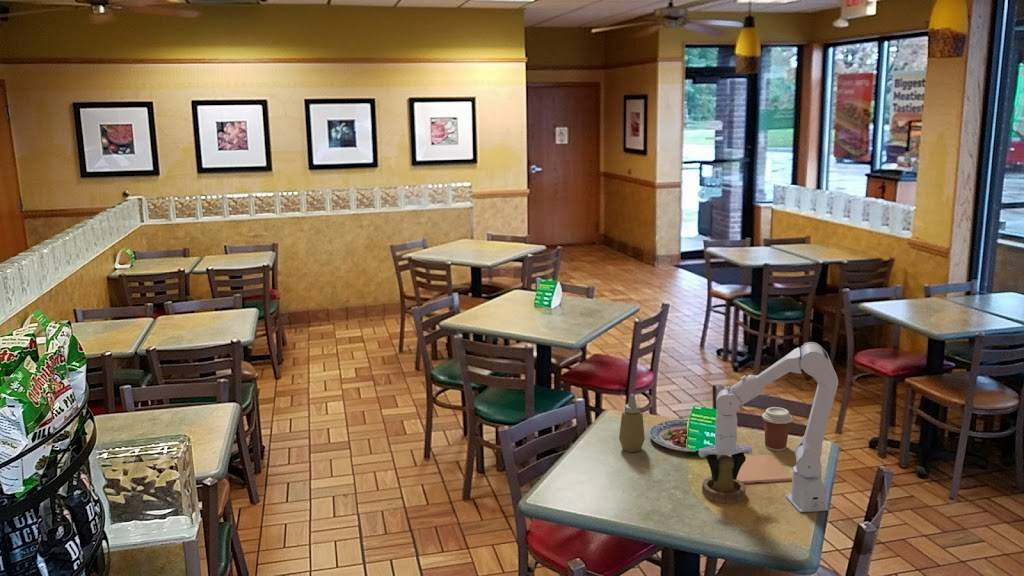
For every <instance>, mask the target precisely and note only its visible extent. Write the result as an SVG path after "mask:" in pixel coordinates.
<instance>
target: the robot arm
mask: <svg viewBox="0 0 1024 576" xmlns="http://www.w3.org/2000/svg"><path fill="white" fill-rule="evenodd" d="M802 371H804V373H805V374H807V375H809V376H810V377H812V378H813V379H814V380H815V381H816V383H817V386H816V390H815V393H814V398H813V401H812V405H811V408H810V413H809V416H808V419H807V420H808V421H807V423H806V427H805V428H806V429H805V431H804V435H803V436H802V438H801V442H800V443H799V444H798V445H797V446H796V448H795V450H794V456H795V461H796V464H795V465H794V466H793V467H792V468H793V469H792V480H791V482H792V484H791V493H788V494H787V493H786V494H784V495H785V497H786V499H787V500H788V501H789V502H790V503H791V504H792V506H794V508H795V509H796V510H797V512H799V513H809V512H825V511H826V512H827V511H829V508H828V506H826V500H827V487H826V485H825V484H824V481H823V480H822V462H821V458H822V457H821V456H822V451H823V442H824V439H825V436H826V435H825V434H826V431H827V427H828V423H829V420H830V416H831V412H832V409H833V405H834V401H835V398H836V394H837V390H838V386H839V378H838V375H837V373H836V371H835V369H834V366H833V363H832V361H831V359H830V357H829V354H828V352H827V350H825V349H824V348H823V346H822V345H820V344H819V343H817V342H814V341H809V342H805V343H803V345H801V346H800V347H799V346H798V347H796V348H794V349H793V350H791V351H790V352H788V353H787V354H785V356H783V357H782V358H780V359H778V360H777V361H776V362H774V363H773V364H772V365H770V366H769V367H768V368H766V369H764V370H763V371H761V372H760V373H759V374H757V375H756V374H748V375H743V376H741V378H740V380H739V381H737V382H736V383H735V384H734V383H733V384H732V386H731V385H728V386H726V388H723V389H721V390H720V391H719V392H718V393H717V396H716V399H715V400H716V402H715V406H716V416H715V425H716V428H715V445H713V446H708V447H704V448H699V452H698V455H699V458H706V460H707V461H706V462H707V463H708V466H709V468H710V473H711V477H712V479H713V480H714V481H717V469H718V464H719V461H718V460H717V457H718V456H720V455H728V456H731V457H732V458H733V459H734V468H733V469H732V473H733V479H734V480H736V479H737V475H738V472H739V470H740V468H741V466H742V465H743V463H744V462H745V460H746V457H745V456H746V455H745V454H747V455H752V454H753V447H752V446H751V445H750V444H737V440H738V439H737V436H738V435H737V431H738V416H737V413H738V410H739V409H740V408H739V407H740V406H743V405H745V404H746V403H749V402H750V401H752V400H753V399H755V398H756V397H758V396H759V395H761V394H763V393H764V387H765V386H768V385H769V384H771V383H772V382H774V381H776V380H777V379H779V378H781V377H783V376H785V375H787V374H788V373H795V374H801V375H802V374H803V373H802Z"/></svg>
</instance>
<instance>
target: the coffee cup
mask: <svg viewBox="0 0 1024 576" xmlns="http://www.w3.org/2000/svg"><path fill="white" fill-rule="evenodd" d="M761 418H762V420H763V424H764V425H763V426H764V429H763V430H764V446H765V448H766V449H768V450H770V451H775V452H781V451H785V450H786V449H787V446H788V445H787V444H788V438H789V432H790V431H789V430H790V424H791V422H793V416H792V414H790V411H789V410H788V409H786V408H783V407H777V406H771V407H767V408H766V409H765V412H763V413H762V414H761Z"/></svg>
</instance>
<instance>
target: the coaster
mask: <svg viewBox="0 0 1024 576" xmlns="http://www.w3.org/2000/svg"><path fill="white" fill-rule="evenodd" d="M744 456H745V457H746V460H745V462H744V463H743V465H742V466H741V468H740V470H739V472H738V475H737V480H739V481H741V482H742V483H743V484H744V485H745V484H755V483H754V482H761V483H773V482H786V481H791V482H792V480H793V477H792V476H790V474H789V473H788V472H787V471H786V470H785V469H784V468H783V467H782V466H781V464H779V463H778V462H777V461H776V460H775V459H774V458H773V456H771V455H770V454H761V455H758V454H757V455H744Z"/></svg>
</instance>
